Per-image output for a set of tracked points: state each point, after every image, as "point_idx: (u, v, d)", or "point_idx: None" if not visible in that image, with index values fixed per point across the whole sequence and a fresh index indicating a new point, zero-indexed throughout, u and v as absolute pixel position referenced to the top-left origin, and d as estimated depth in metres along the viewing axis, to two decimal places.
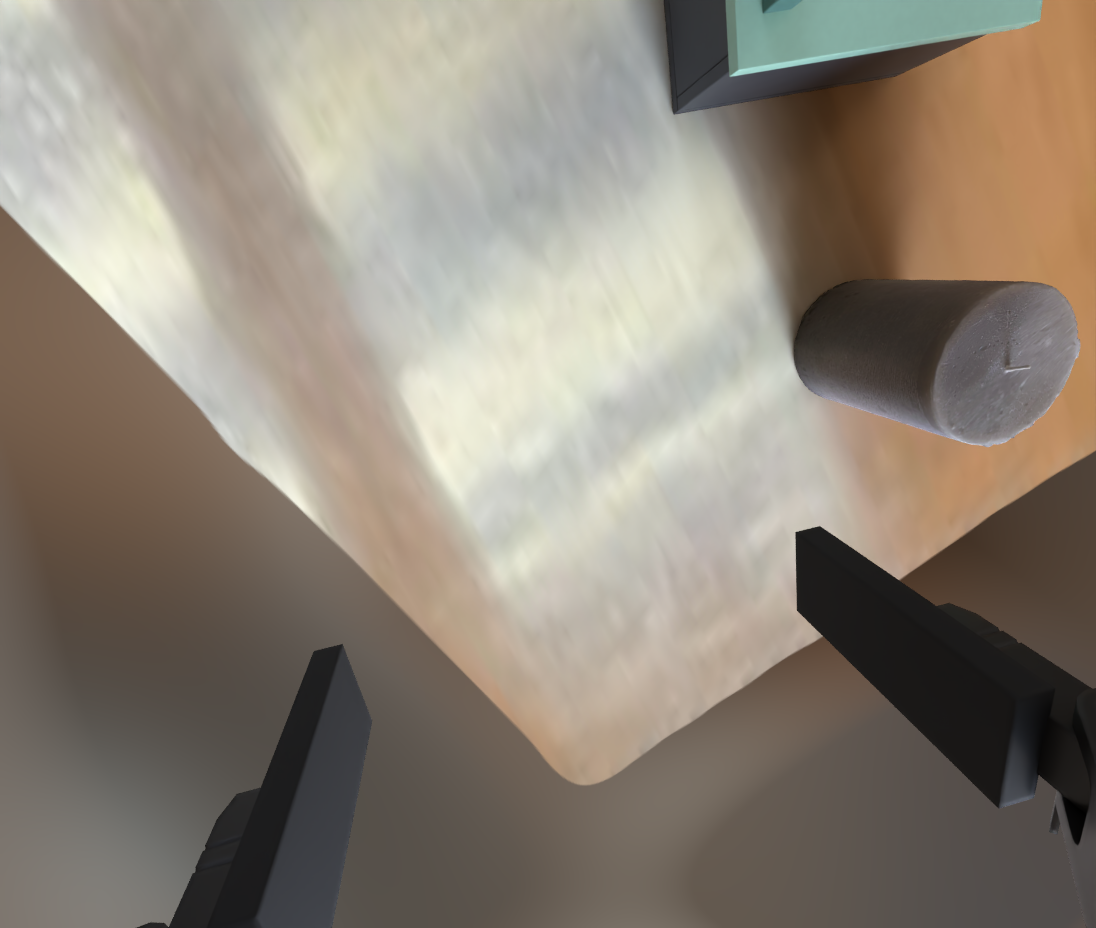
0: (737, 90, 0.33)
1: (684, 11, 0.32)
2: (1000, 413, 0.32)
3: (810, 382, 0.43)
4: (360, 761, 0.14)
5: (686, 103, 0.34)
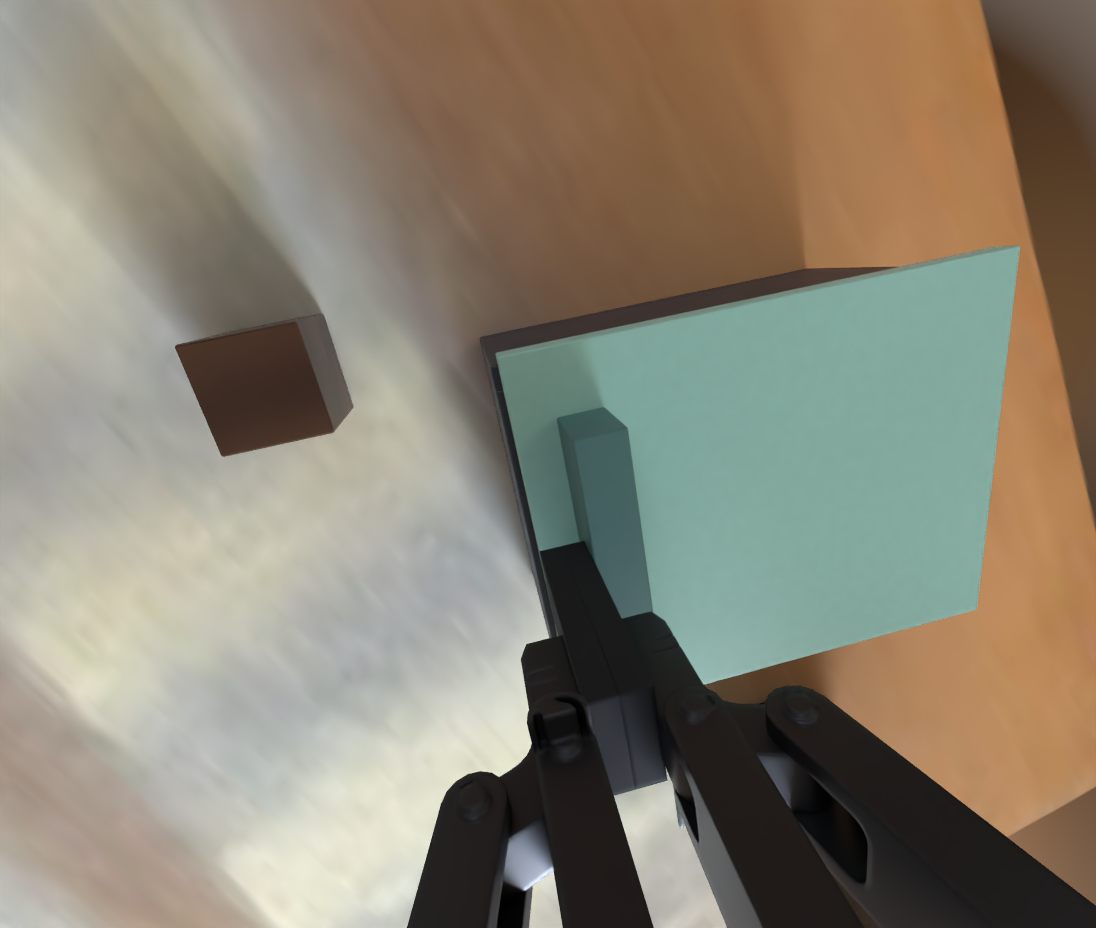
0: None
1: (524, 531, 0.26)
2: None
3: None
4: None
5: None
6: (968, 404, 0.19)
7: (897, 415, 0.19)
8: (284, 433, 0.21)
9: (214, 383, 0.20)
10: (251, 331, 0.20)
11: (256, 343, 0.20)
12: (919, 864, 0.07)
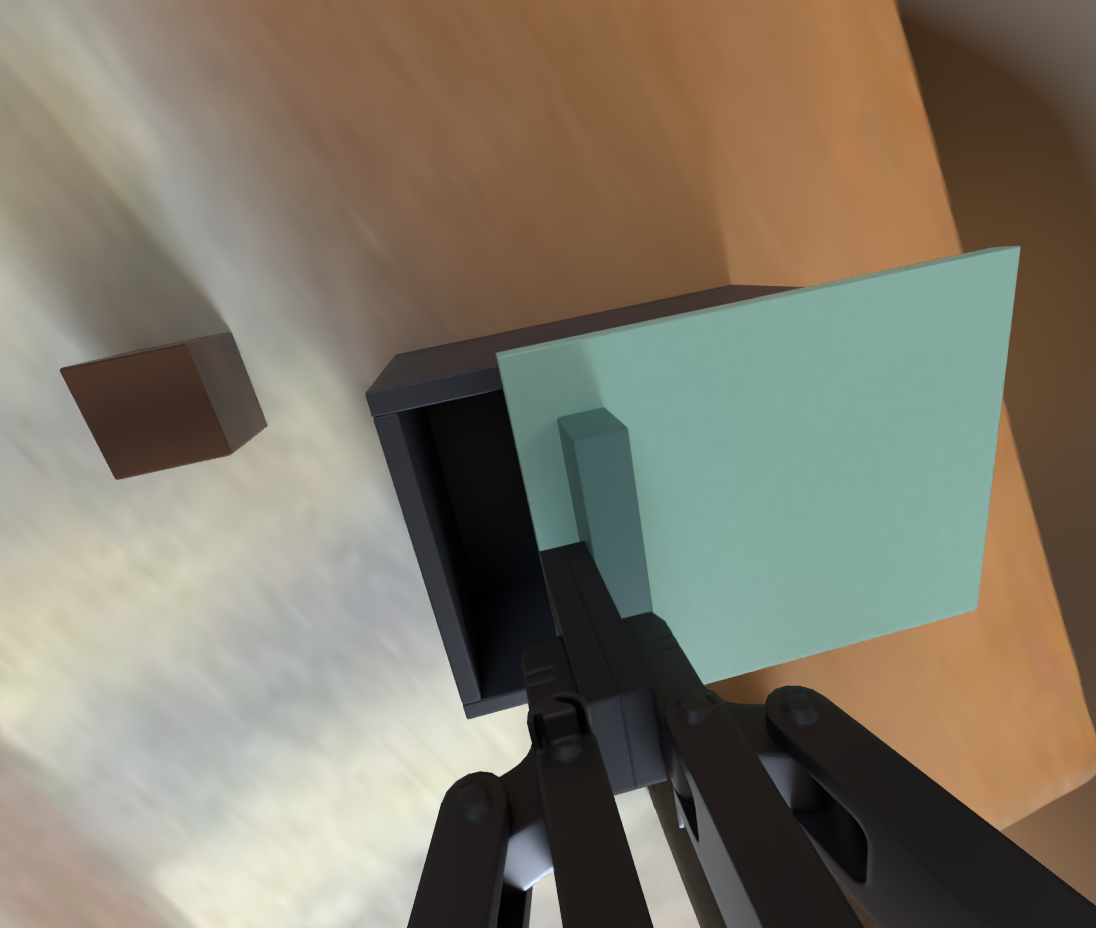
0: None
1: None
2: None
3: None
4: None
5: None
6: (968, 404, 0.19)
7: (897, 415, 0.19)
8: (179, 456, 0.21)
9: (103, 406, 0.20)
10: (138, 353, 0.19)
11: (144, 365, 0.19)
12: (919, 864, 0.07)
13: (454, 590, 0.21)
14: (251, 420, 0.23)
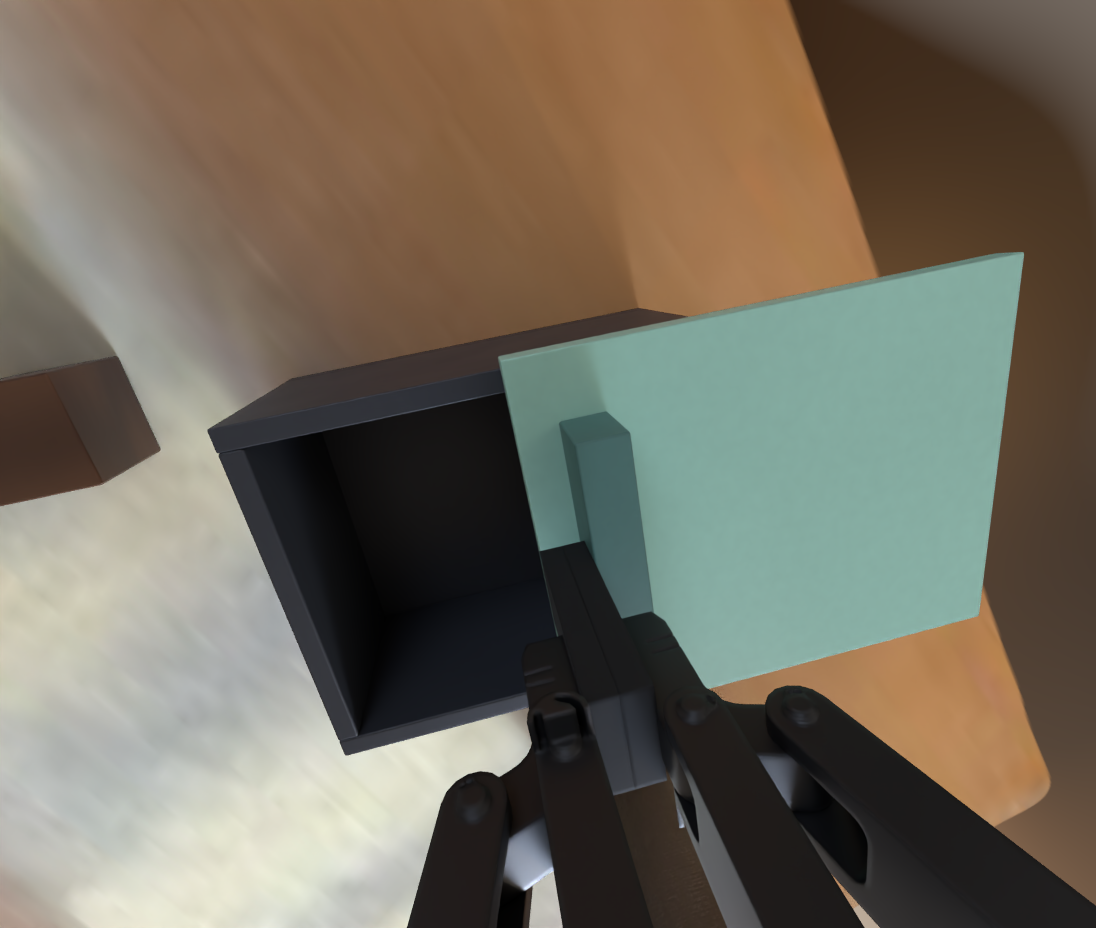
0: None
1: None
2: None
3: None
4: None
5: None
6: (971, 410, 0.19)
7: (900, 421, 0.19)
8: (47, 485, 0.20)
9: None
10: None
11: (3, 395, 0.19)
12: (919, 864, 0.07)
13: (327, 624, 0.20)
14: (136, 446, 0.23)
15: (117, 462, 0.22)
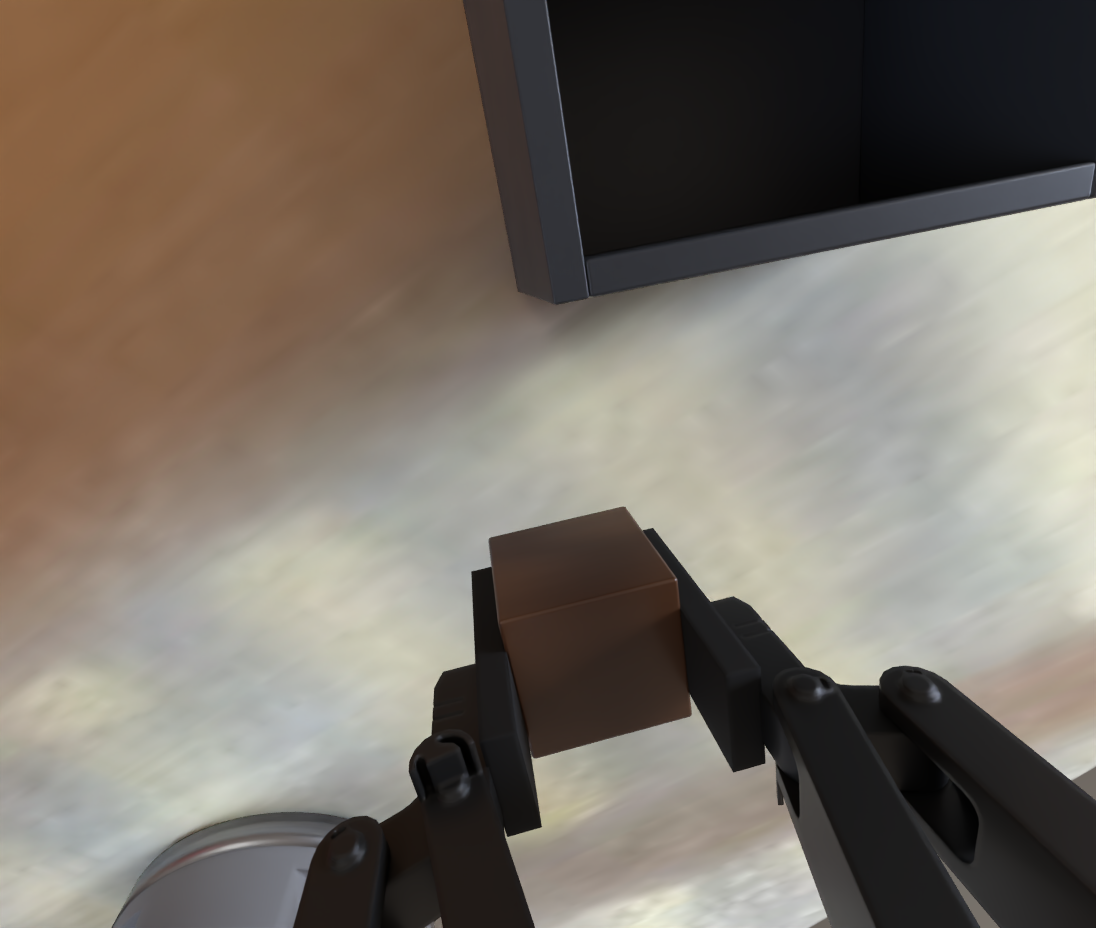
0: None
1: None
2: None
3: None
4: None
5: None
6: None
7: None
8: (669, 643, 0.13)
9: (586, 720, 0.14)
10: (513, 676, 0.13)
11: (531, 672, 0.13)
12: (1034, 846, 0.07)
13: (878, 201, 0.13)
14: (617, 531, 0.15)
15: (641, 555, 0.14)
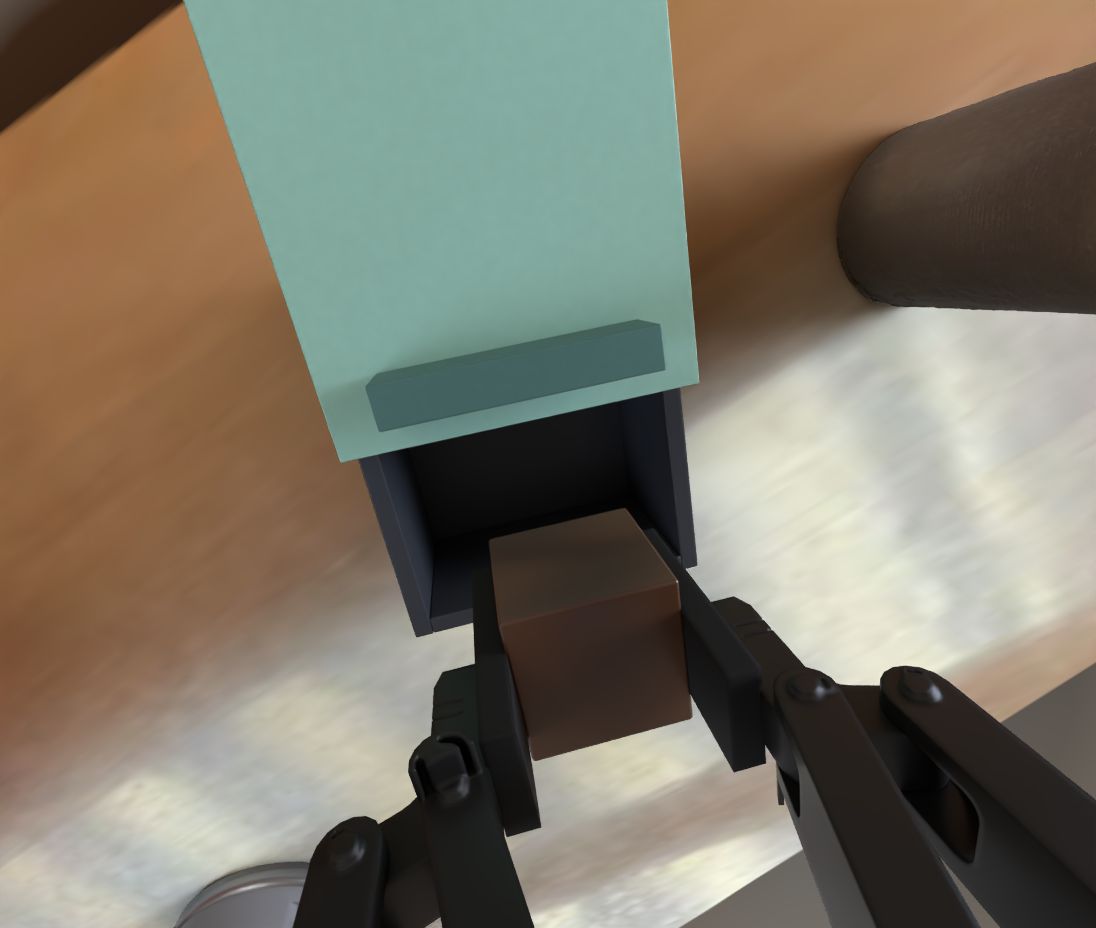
0: None
1: None
2: None
3: None
4: None
5: None
6: None
7: (364, 21, 0.16)
8: (670, 645, 0.13)
9: (587, 723, 0.14)
10: (514, 678, 0.13)
11: (531, 674, 0.13)
12: (1035, 846, 0.07)
13: None
14: (618, 532, 0.15)
15: (642, 557, 0.14)
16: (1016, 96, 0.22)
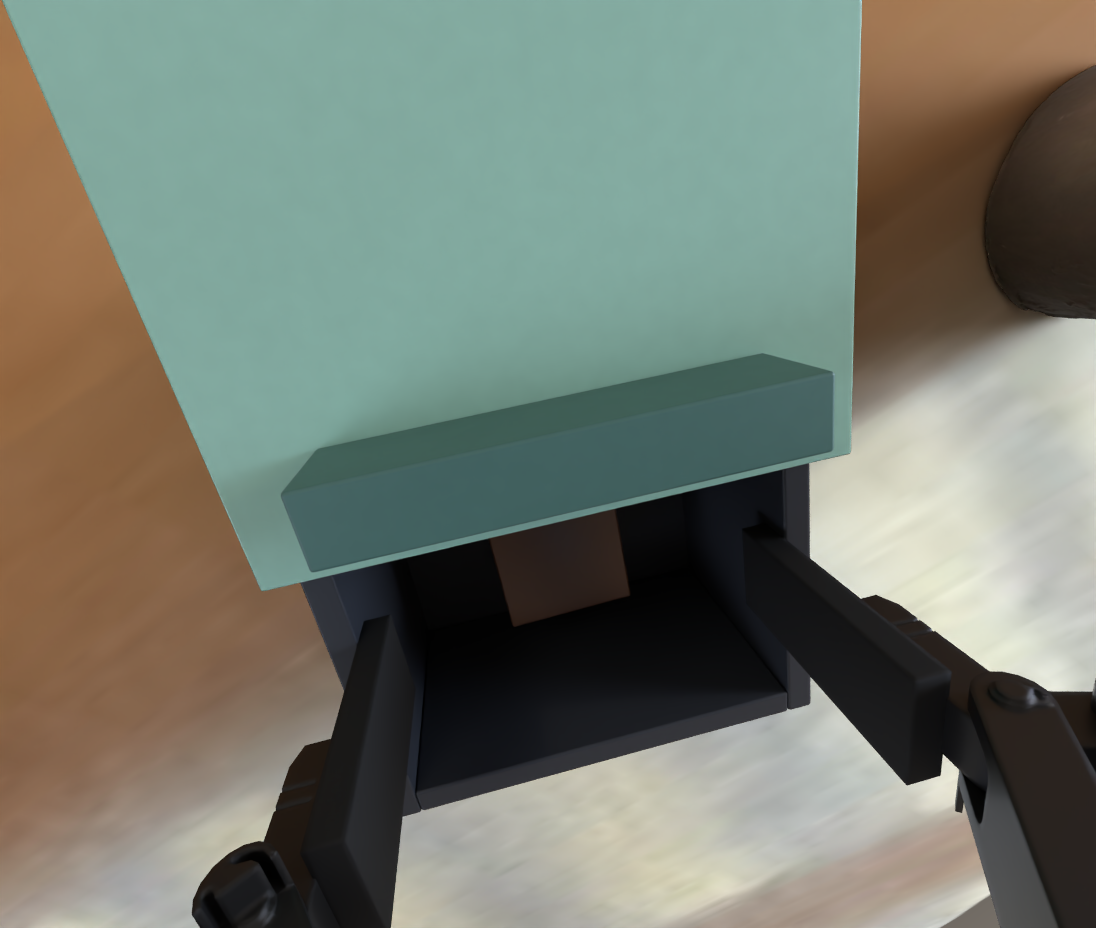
0: None
1: None
2: None
3: None
4: (409, 723, 0.15)
5: None
6: None
7: None
8: (609, 537, 0.18)
9: (551, 597, 0.19)
10: (496, 561, 0.18)
11: (508, 558, 0.18)
12: None
13: (641, 704, 0.18)
14: None
15: None
16: None
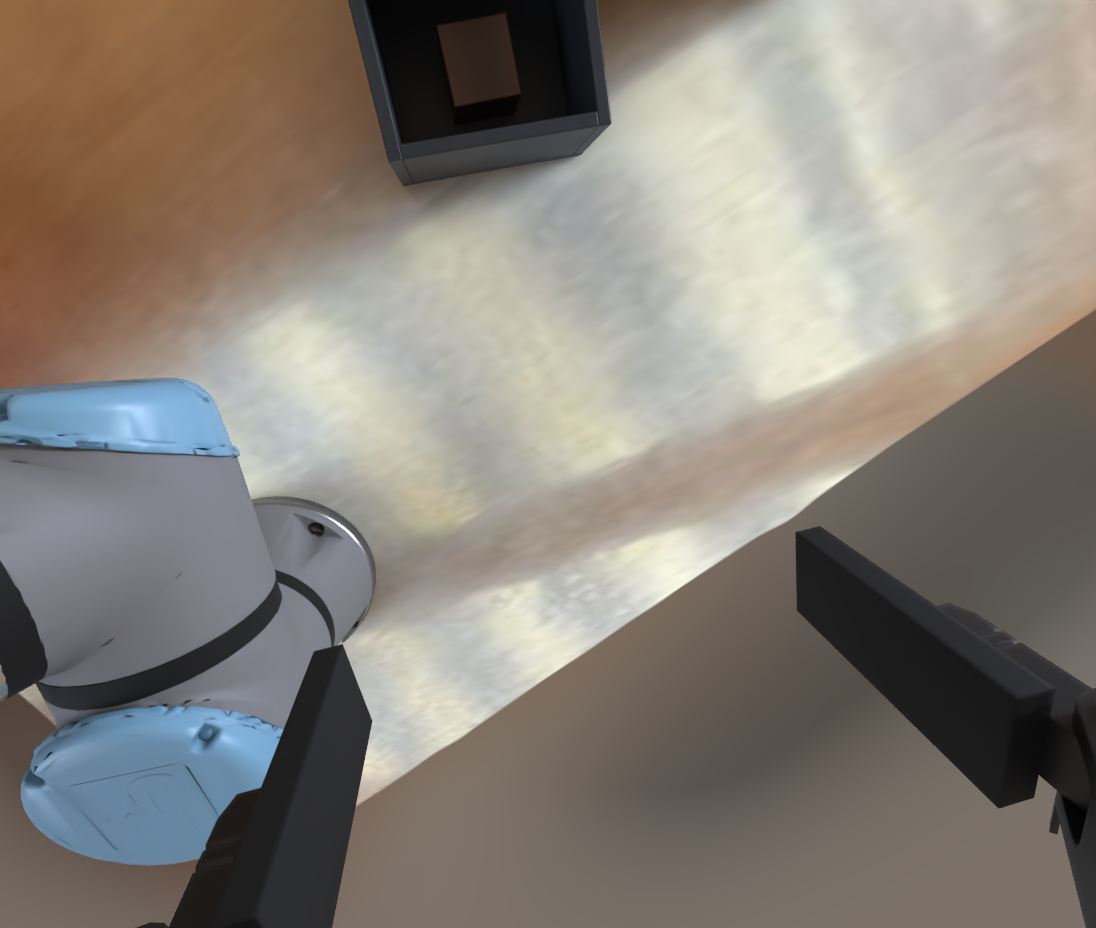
0: None
1: (526, 156, 0.38)
2: None
3: None
4: (360, 761, 0.14)
5: (587, 147, 0.39)
6: None
7: None
8: (506, 47, 0.34)
9: (475, 87, 0.34)
10: (443, 56, 0.33)
11: (450, 54, 0.33)
12: None
13: None
14: None
15: None
16: None
